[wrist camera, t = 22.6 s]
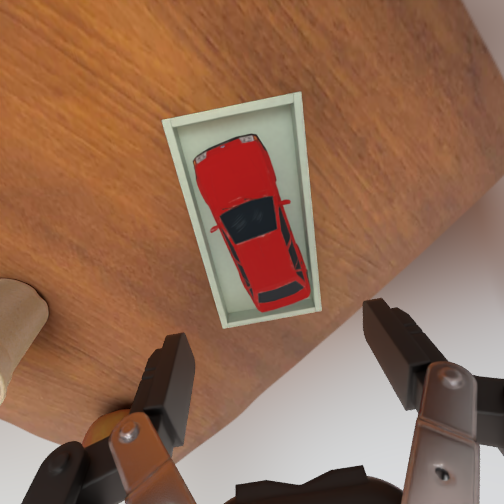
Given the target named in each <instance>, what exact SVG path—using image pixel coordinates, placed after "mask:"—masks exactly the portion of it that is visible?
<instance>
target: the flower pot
mask: <svg viewBox="0 0 504 504" xmlns="http://www.w3.org/2000/svg"><path fill="white" fill-rule="evenodd" d="M48 315H49V312H48V306H47V303H46V301H45V300H43V299H41V297H40V296H39V295H38V294H37V292H36V290H35V289H34V288H32V287H31V286H29V285H27V284H25V283H23V282H20V281H17V280H13V279H6V278H0V405H1V404H2V402H3V401H4V399H5V397H6V393H7V386H8V384H9V383H10V381H11V378H12V373H13V371H14V370H15V368H16V367H17V365H18V364H19V362H20V361H21V359H22V357H23V356H24V354H25V353H26V351H27V350H28V348H29V347H30V345H31V344H32V342H33V341H34V339H35V338H36V336H37V335H38V333H39V332H40V330H41V329H42V327H43V326H44V324H45V323H46V321H47V319H48Z"/></svg>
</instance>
